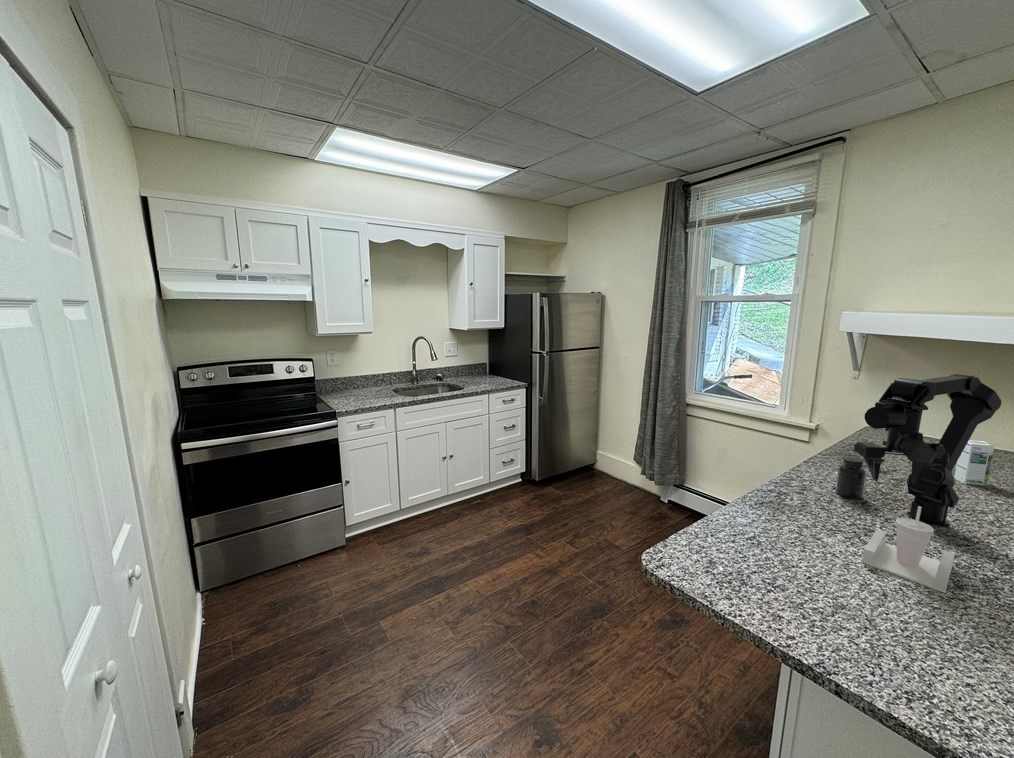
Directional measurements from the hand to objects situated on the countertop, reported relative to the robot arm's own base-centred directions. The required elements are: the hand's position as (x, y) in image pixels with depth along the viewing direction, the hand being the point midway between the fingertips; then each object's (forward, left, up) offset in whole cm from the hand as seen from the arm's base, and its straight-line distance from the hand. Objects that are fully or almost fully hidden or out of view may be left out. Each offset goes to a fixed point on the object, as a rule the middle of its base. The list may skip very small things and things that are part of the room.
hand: (894, 481), depth 110 cm
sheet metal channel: (+8, +19, -13) cm, 24 cm away
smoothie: (+8, +19, -13) cm, 24 cm away
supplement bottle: (-2, -20, -13) cm, 24 cm away
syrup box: (-50, -39, -13) cm, 65 cm away
